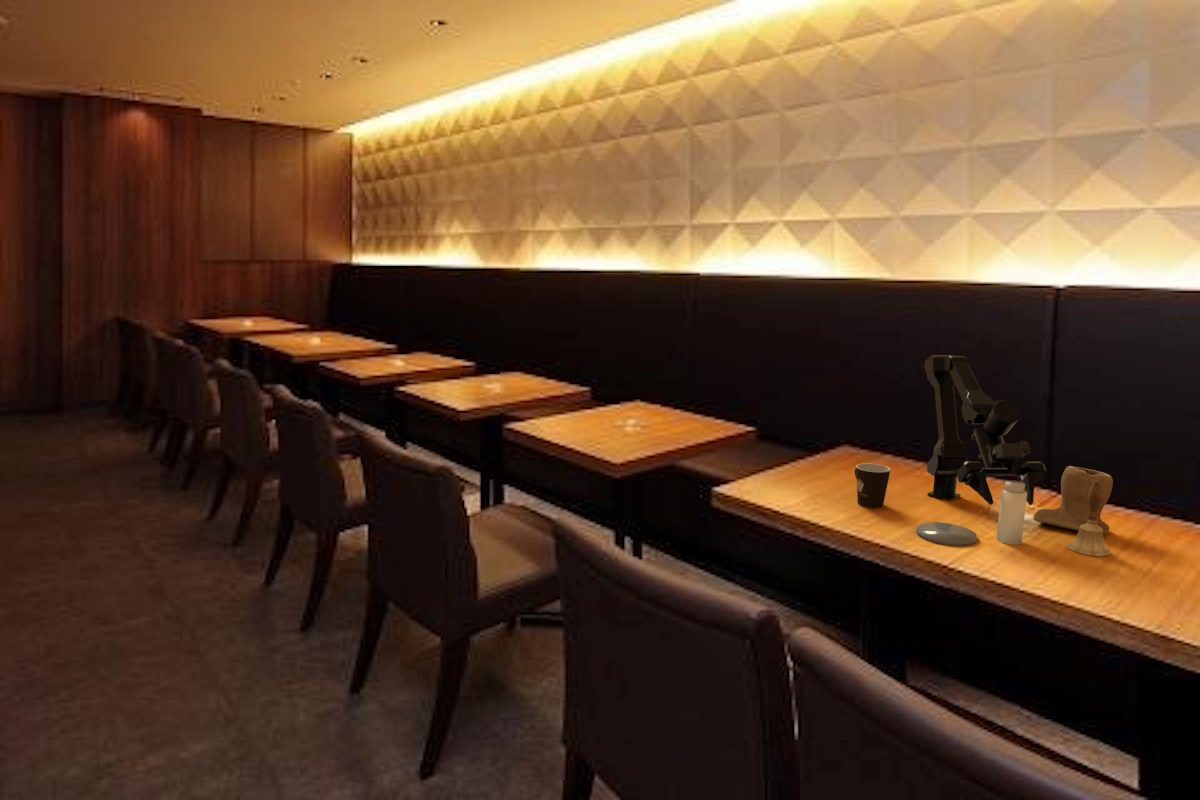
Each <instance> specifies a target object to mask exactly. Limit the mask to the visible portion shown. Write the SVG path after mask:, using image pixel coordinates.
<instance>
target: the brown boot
mask: <svg viewBox="0 0 1200 800" xmlns="http://www.w3.org/2000/svg"><path fill="white" fill-rule="evenodd" d="M1060 479H1061V480H1060V493H1061V503H1060V506H1058V507H1057V508H1039V509H1038V510H1037V511H1036V512H1035V513H1034V515H1033V521H1035V522H1038V523H1042V524H1046V525H1050V526H1053V527H1058V528H1063V529H1069V530H1073V531H1079V528H1080V526H1081V525H1083V524H1086V523H1087V522H1088V517H1089V516H1088V515H1089V510H1090V506H1089V500H1088V496H1089V490H1090V488H1091V486H1092V485H1093V482H1094V481H1100V482H1101V488H1102V500H1101V503H1100V505H1099V507H1098V511H1097V520H1096V521H1097V522H1096V524H1097V525H1098V526H1099V527H1101V528H1102V529H1103V535H1104V534H1107V533H1108V532H1110V531H1109V530H1110V526H1109V524H1108V523H1106V522H1105V521H1103V520H1102V518H1101V514H1102V511H1103V508H1104V507H1105V506H1106V503H1107V502H1108V501H1109V499H1110V496H1111V493H1112V491H1113V490H1112V488H1113V486H1114V479H1113V477H1112V475H1110V474H1108V473H1105V472H1102V471H1098V470H1095V469H1090V468H1085V467H1079V466H1072V465H1069V466H1066V467H1065V469H1064V471H1063V473H1062V475H1061V478H1060Z"/></svg>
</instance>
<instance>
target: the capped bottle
mask: <svg viewBox="0 0 1200 800" xmlns="http://www.w3.org/2000/svg"><path fill="white" fill-rule="evenodd" d="M1024 490H1025V483H1024V482H1021V481H1019V480H1014V479H1013V480H1012V479H1007V480H1005V483H1004V487H1003V488H1001V492H1000V501H999V510H998V512H999V513H998V520H997V528H996V529H997V531H996V538H995V539H997V540H998V541H997V540H996V541H997V542H999V543H1001V542H1002V543H1001V544H1004V543H1006V544H1005V545H1009V544H1012V545H1011V546H1019V544H1020V545H1021V544H1022V542H1023V534H1024V524H1025V516H1026V506H1027V500H1026V499H1027V492H1026V491H1024Z"/></svg>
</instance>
